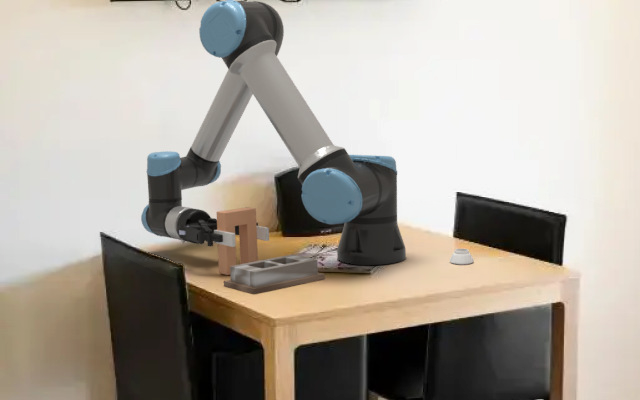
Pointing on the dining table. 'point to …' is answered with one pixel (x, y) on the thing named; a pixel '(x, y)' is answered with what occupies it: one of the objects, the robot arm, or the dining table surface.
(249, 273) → the grey socket block
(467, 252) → the grey bowl
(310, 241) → the dining table surface
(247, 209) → the tan arch block
